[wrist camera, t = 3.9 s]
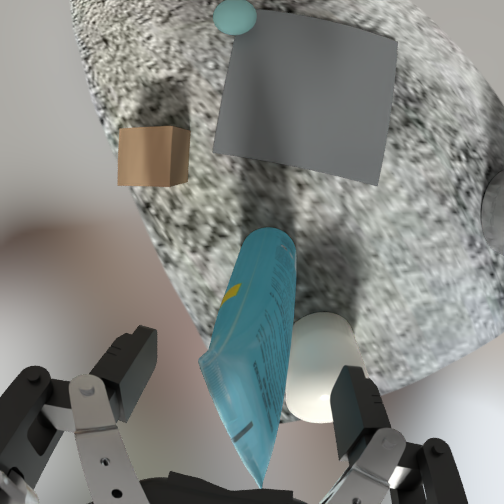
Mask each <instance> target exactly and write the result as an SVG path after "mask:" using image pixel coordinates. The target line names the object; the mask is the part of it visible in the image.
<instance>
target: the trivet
mask: <svg viewBox="0 0 504 504" xmlns="http://www.w3.org/2000/svg"><path fill="white" fill-rule="evenodd" d="M255 10H256V13H257V19H256V23H255V25H254V26H253V27H252V28H251V29H250V30H249V31H248V32H246V33H243V34H240V35H235V39H234V44H233V48H232V53H231V57H230V62H229V67H228V72H227V76H226V81H225V86H224V91H223V97H222V102H221V107H220V112H219V118H218V123H217V129H216V135H215V141H214V147H213V153H219V154H226V155H232V156H239V157H245V158H251V159H257V160H263V161H268V162H274V163H279V164H284V165H289V166H294V167H299V168H304V169H309V170H313V171H318V172H322V173H327V174H331V175H335V176H339V177H343V178H347V179H351V180H355V181H359V182H363V183H367V184H371V185H374V186H378V181H379V177H380V172H381V167H382V162H383V157H384V151H385V146H386V140H387V134H388V128H389V121H390V114H391V107H392V99H393V91H394V82H395V72H396V61H397V48H398V42H397V41H395V40H392V39H389V38H386V37H384V36H381V35H378V34H375V33H372V32H368V31H365V30H362V29H359V28H355V27H352V26H348V25H344V24H340V23H336V22H332V21H328V20H323V19H319V18H314V17H309V16H304V15H298V14H292V13H286V12H278V11H271V10H262V9H255Z"/></svg>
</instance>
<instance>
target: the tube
mask: <svg viewBox="0 0 504 504" xmlns="http://www.w3.org/2000/svg"><path fill="white" fill-rule="evenodd" d="M296 260H297V255H296V248H295V245H294V243H293V241H292V239H291V238H290V237H289V236H288V235H287V234H286V233H285V232H283V231H281V230H279V229H276V228H271V227H265V228H260V229H257V230H255V231H253V232H252V233H250V234H249V235H248V236H247V238H246V239H245V240H244V242H243V244H242V247H241V250H240V252H239V255H238V258H237V261H236V264H235V267H234V269H233V272H232V275H231V278H230V281H229V284H228V286H227V289H226V292H225V295H224V297H223V300H222V303H221V306H220V309H219V312H218V316H217V319H216V323H215V326H214V330H213V334H212V339H211V343H210V346H209V350H208V351H207V352H206V353H205V354H203V355H202V356H201V357H200V358H199V360H198V363H199V366H200V369H201V372H202V374H203V377H204V379H205V382H206V384H207V387H208V390H209V392H210V395H211V397H212V399H213V402H214V404H215V407H216V409H217V411H218V413H219V415H220V418H221V420H222V422H223V424H224V426H225V428H226V430H227V432H228V434H229V436H230V438H231V440H232V442H233V445H234V447H235V448H236V450H237V452H238V454H239V456H240V457H241V460H242V462H243V463H244V465H245V466H246V468H247V469H248V471H249V473H250V474H251V475H252V476H253V478H254V480H255V481H256V483H257V485H258V487H259V489H262V484H263V480H264V477H265V474H266V471H267V468H268V464H269V461H270V458H271V454H272V451H273V447H274V443H275V439H276V435H277V431H278V426H279V421H280V416H281V410H282V405H283V399H284V393H285V387H286V380H287V373H288V366H289V358H290V349H291V340H292V330H293V320H294V308H295V293H296V270H297V262H296Z"/></svg>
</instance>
